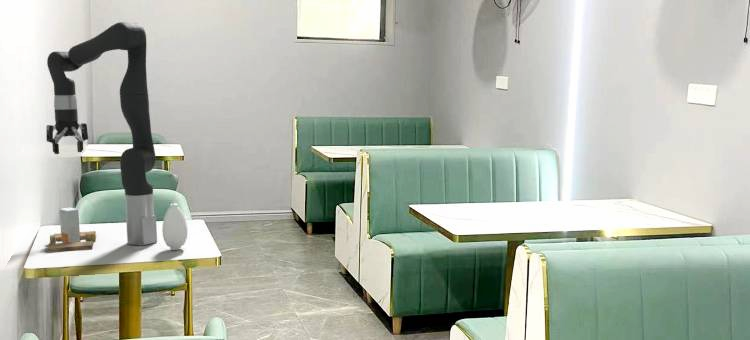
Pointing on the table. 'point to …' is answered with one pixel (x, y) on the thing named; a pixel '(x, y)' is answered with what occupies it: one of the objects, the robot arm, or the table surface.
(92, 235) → the brown wooden frame
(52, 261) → the table surface
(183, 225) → the white vase
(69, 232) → the skincare box
